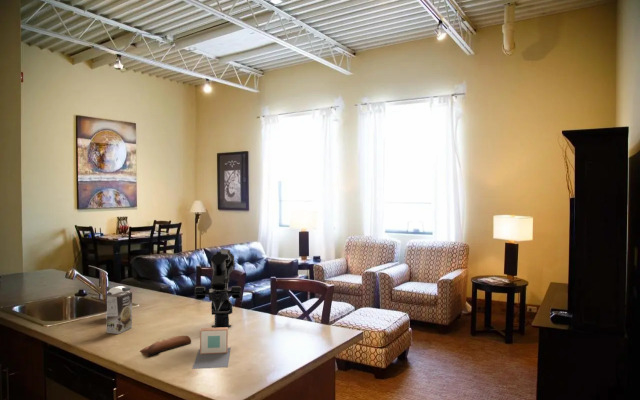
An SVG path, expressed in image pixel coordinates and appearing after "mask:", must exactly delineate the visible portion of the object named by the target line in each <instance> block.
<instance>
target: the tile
mask: <svg viewBox="0 0 640 400" xmlns="http://www.w3.org/2000/svg"><path fill="white" fill-rule="evenodd" d="M228 348H229V327H219V328H214V327H202V328H201V327H200V331H199V349H200V354H216V353H227V352H228Z"/></svg>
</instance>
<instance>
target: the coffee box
mask: <svg viewBox="0 0 640 400" xmlns="http://www.w3.org/2000/svg"><path fill="white" fill-rule="evenodd" d="M106 317H107V319H106V333H107V334H115V335H118V334H121V333H124V332H126V331H127V330H131V329H132V327H133V292H131V291H129V292H119V293H115V294H112V295H109V296H107V300H106Z"/></svg>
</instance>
